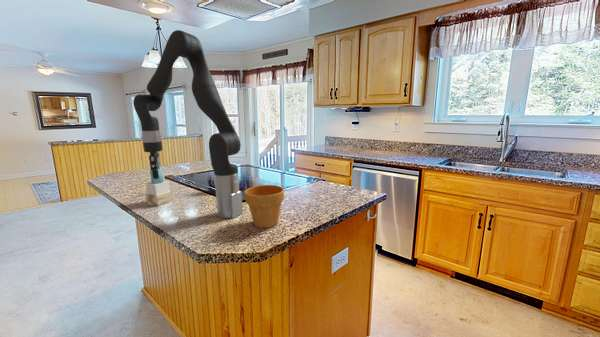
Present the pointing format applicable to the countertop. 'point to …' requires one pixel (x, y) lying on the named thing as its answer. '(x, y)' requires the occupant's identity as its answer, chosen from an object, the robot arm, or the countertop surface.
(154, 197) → the oak base block
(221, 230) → the countertop surface
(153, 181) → the teal cylinder
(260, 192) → the flower pot
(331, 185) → the countertop surface
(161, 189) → the white top block
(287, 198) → the countertop surface
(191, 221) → the countertop surface
